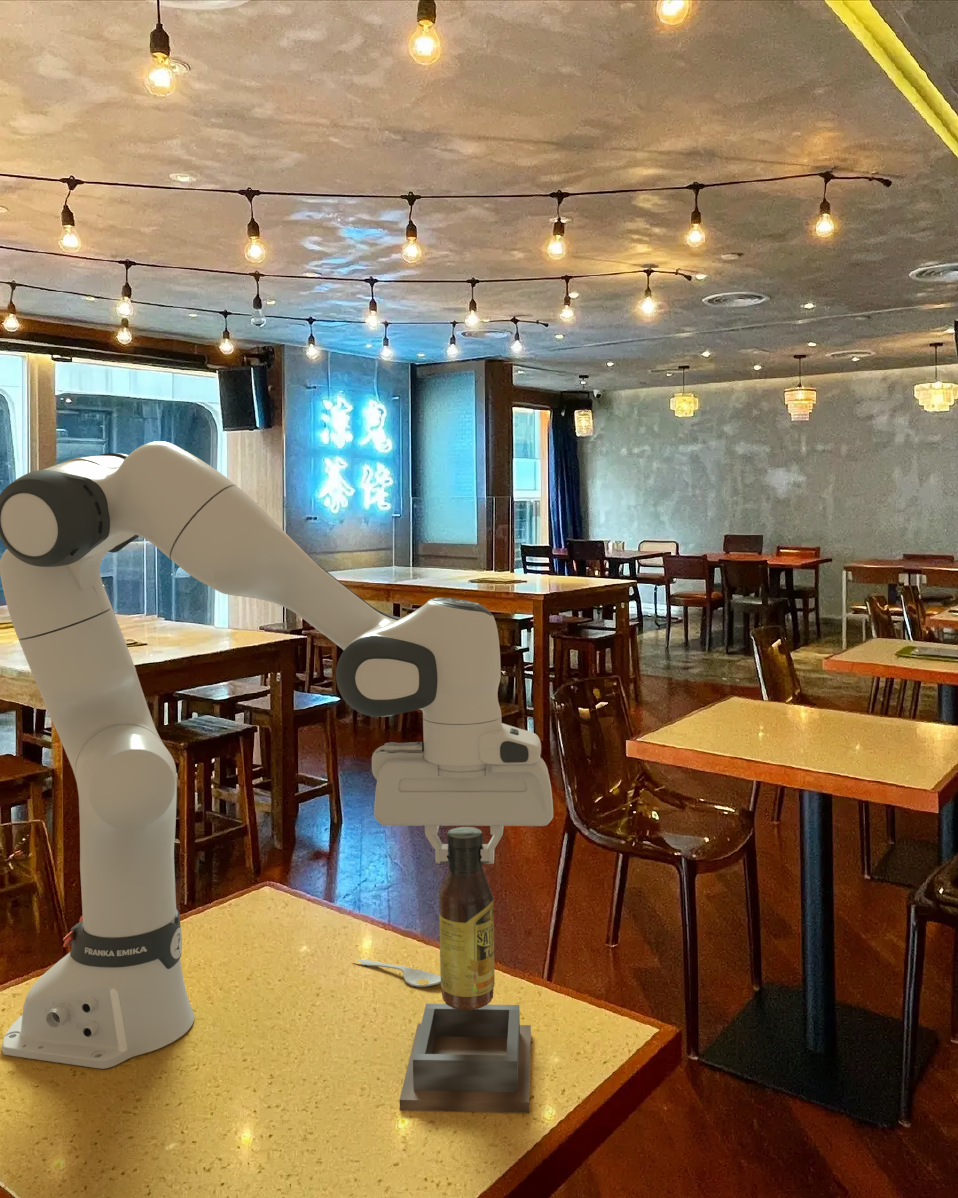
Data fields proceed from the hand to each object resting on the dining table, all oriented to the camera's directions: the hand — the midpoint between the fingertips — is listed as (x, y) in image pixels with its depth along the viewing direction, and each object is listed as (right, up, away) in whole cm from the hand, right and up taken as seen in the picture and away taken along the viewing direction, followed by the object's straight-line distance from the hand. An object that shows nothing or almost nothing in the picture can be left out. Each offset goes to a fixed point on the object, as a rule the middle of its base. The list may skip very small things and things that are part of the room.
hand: (465, 862), depth 111 cm
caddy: (0, -25, +2) cm, 25 cm away
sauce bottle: (0, -17, +2) cm, 17 cm away
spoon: (-12, -24, +28) cm, 38 cm away
